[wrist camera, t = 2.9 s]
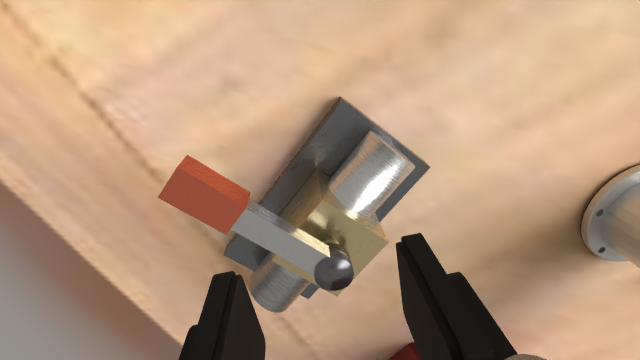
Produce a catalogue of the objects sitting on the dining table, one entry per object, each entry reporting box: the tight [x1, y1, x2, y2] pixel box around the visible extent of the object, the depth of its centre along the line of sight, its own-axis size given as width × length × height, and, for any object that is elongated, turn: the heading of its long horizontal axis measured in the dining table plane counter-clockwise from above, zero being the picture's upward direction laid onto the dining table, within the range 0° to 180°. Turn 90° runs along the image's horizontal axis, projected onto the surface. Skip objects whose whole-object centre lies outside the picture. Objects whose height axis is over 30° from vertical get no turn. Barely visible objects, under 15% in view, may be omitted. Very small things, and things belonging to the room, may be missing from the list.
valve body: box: [224, 97, 430, 312], centre depth 32 cm, size 20×11×9 cm, turn 143°
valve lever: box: [158, 155, 354, 291], centre depth 25 cm, size 15×3×2 cm, turn 53°
